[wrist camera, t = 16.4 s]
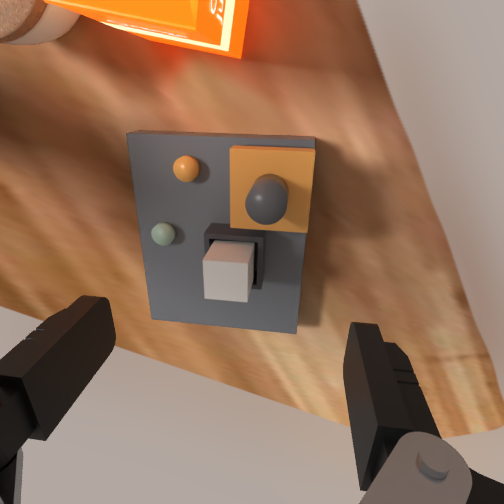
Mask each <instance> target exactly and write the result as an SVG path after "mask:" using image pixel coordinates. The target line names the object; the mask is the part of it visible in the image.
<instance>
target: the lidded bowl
mask: <svg viewBox="0 0 504 504" xmlns="http://www.w3.org/2000/svg"><path fill="white" fill-rule="evenodd" d="M80 15H81V14H79V13H76V12H73V11H71V10H68V9H65V8H63V7H60V6H57V5H54V4H50V3H45V2H44V0H0V43H2V44H9V45H36V44H42V43H46V42H50V41H53V40H55V39H57V38H59V37H61V36H62V35H64V34H65V33H66V32H68V31H69V30H70V29H71V28H72V27H73V26H74V24H75V23H76V22H77V20H78V18H79V17H80Z"/></svg>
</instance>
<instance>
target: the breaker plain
mask: <svg viewBox="0 0 504 504" xmlns="http://www.w3.org/2000/svg"><path fill="white" fill-rule="evenodd" d="M254 247H255V243H252V242H238V241H225V240H214V242H213V243H212V245H211V247H210V248H209V250H208V252H207V253H206V255H205V257H204V258H203V278H204V298H205V299H215V300H226V301H236V302H248V298H249V294H250V290H251V287H252V283H253V279H254Z"/></svg>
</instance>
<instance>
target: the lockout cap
mask: <svg viewBox="0 0 504 504" xmlns="http://www.w3.org/2000/svg"><path fill="white" fill-rule="evenodd" d="M314 161H315V149H312V148H287V147H261V146H235V145H234V146H232V147H231V148H230V228H241V229H256V230H271V231H286V232H301V233H307V232H308V222H309V212H310V202H311V192H312V182H313V171H314Z"/></svg>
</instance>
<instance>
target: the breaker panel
mask: <svg viewBox="0 0 504 504" xmlns="http://www.w3.org/2000/svg"><path fill="white" fill-rule="evenodd" d="M126 136H127V143H128V150H129V158H130V165H131V172H132V179H133V187H134V194H135V201H136V209H137V216H138V223H139V231H140V238H141V245H142V252H143V260H144V267H145V274H146V282H147V289H148V296H149V304H150V311H151V318H152V319H154V320H164V321H174V322H183V323H193V324H203V325H213V326H222V327H232V328H242V329H252V330H261V331H271V332H281V333H291V334H296V332H297V322H298V311H299V301H300V291H301V281H302V271H303V260H304V250H305V240H306V233H301V232H286V231H271V230H256V229H241V228H230V148H231V147H232V146H234V145H235V146H261V147H287V148H312V149H314V148H315V138H314V137H312V136H283V135H255V134H226V133H198V132H169V131H141V130H140V131H135V132H130V133H126ZM214 240H225V241H238V242H252V243H255V247H254V279H253V283H252V287H251V290H250V294H249V298H248V302H236V301H226V300H215V299H205V298H204V278H203V258H204V257H205V255H206V253H207V252H208V250H209V248H210V247H211V245H212V243H213V242H214Z"/></svg>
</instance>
